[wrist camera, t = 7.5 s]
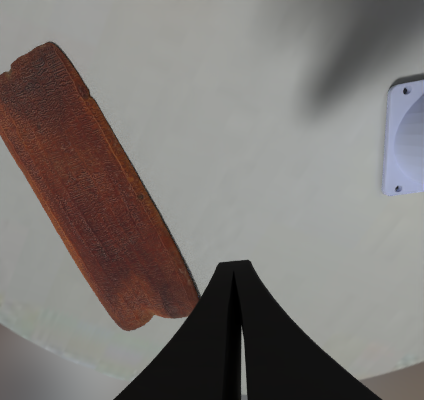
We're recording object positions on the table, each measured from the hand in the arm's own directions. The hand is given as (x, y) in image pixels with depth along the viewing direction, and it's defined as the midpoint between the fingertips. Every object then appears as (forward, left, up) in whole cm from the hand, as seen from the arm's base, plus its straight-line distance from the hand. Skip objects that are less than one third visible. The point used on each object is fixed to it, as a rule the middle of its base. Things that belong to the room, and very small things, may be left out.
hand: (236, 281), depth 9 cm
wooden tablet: (+12, -1, -11) cm, 16 cm away
